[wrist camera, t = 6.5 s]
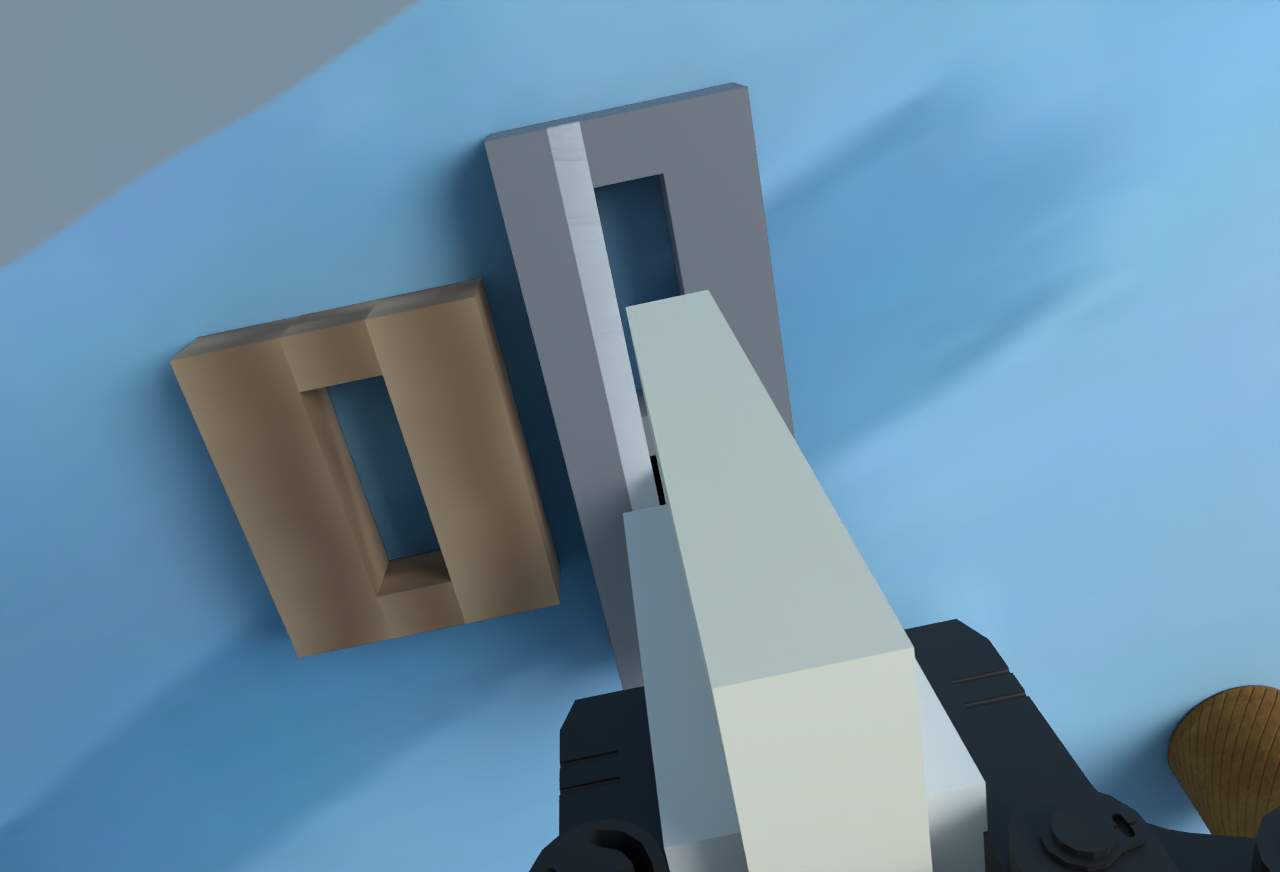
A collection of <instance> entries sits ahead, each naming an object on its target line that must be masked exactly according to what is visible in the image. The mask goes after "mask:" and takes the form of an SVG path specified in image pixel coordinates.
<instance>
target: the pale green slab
mask: <svg viewBox="0 0 1280 872" xmlns="http://www.w3.org/2000/svg"><path fill="white" fill-rule="evenodd" d="M625 308H626V312H627V317H628V322H629V327H630V332H631V337H632V341H633V346H634V351H635V356H636V361H637V366H638V371H639V375H640V380H641V385H642V390H643V395H644V400H645V404H646V409H647V414H648V419H649V424H650V429H651V434H652V438H653V443H654V448H655V453H656V458H657V463H658V467H659V472H660V477H661V482H662V487H663V492H664V496H665V501H666V504H668V509H669V513H670V518H671V522H672V527H673V532H674V536H675V541H676V545H677V550H678V554H679V559H680V563H681V568H682V572H683V577H684V581H685V586H686V590H687V595H688V599H689V604H690V608H691V613H692V617H693V622H694V627H695V631H696V636H697V640H698V645H699V649H700V654H701V658H702V663H703V667H704V672H705V676H706V681H707V685H708V690H709V694H710V699H711V703H712V708H713V713H714V717H715V722H716V726H717V731H718V735H719V740H720V744H721V749H722V753H723V758H724V762H725V767H726V771H727V776H728V780H729V785H730V789H731V794H732V798H733V803H734V808H735V812H736V817H737V821H738V826H739V830H740V835H741V840H742V845H743V850H744V855H745V860H746V865H747V869H748V872H933V870H932V858H931V846H930V834H929V822H928V810H927V798H926V786H925V774H924V762H923V750H922V738H921V726H920V714H919V702H918V690H917V678H916V665H915V653H914V646H913V645H912V643H911V641H910V639H909V638H908V636H907V634H906V632H905V631H904V629H903V627H902V626H901V624H900V622H899V620H898V619H897V617H896V615H895V613H894V612H893V610H892V608H891V606H890V605H889V603H888V601H887V599H886V598H885V596H884V594H883V593H882V591H881V589H880V587H879V586H878V584H877V582H876V580H875V579H874V577H873V575H872V573H871V572H870V570H869V568H868V566H867V565H866V563H865V561H864V559H863V558H862V556H861V554H860V553H859V551H858V549H857V547H856V546H855V544H854V542H853V540H852V539H851V537H850V535H849V533H848V532H847V530H846V528H845V526H844V525H843V523H842V521H841V520H840V518H839V516H838V514H837V513H836V511H835V509H834V507H833V506H832V504H831V502H830V500H829V499H828V497H827V495H826V493H825V492H824V490H823V488H822V486H821V485H820V483H819V481H818V480H817V478H816V476H815V474H814V473H813V471H812V469H811V467H810V466H809V464H808V462H807V460H806V459H805V457H804V455H803V453H802V452H801V450H800V448H799V447H798V445H797V443H796V441H795V440H794V438H793V436H792V434H791V433H790V431H789V429H788V427H787V426H786V424H785V422H784V420H783V419H782V417H781V415H780V413H779V412H778V410H777V408H776V407H775V405H774V403H773V401H772V400H771V398H770V396H769V394H768V393H767V391H766V389H765V387H764V386H763V384H762V382H761V380H760V379H759V377H758V375H757V374H756V372H755V370H754V368H753V367H752V365H751V363H750V361H749V360H748V358H747V356H746V354H745V353H744V351H743V349H742V347H741V346H740V344H739V342H738V340H737V339H736V337H735V335H734V334H733V332H732V330H731V328H730V327H729V325H728V323H727V321H726V320H725V318H724V316H723V314H722V313H721V311H720V309H719V307H718V306H717V304H716V302H715V301H714V299H713V297H712V295H711V294H710V292H709V290H704V291H700V292H695V293H690V294H685V295H681V296H676V297H671V298H666V299H662V300H657V301H652V302H647V303H643V304H638V305H633V306H628V307H625Z"/></svg>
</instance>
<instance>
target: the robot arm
mask: <svg viewBox="0 0 1280 872" xmlns="http://www.w3.org/2000/svg"><path fill="white" fill-rule="evenodd" d="M623 519H624V527H625V535H626V543H627V551H628V560H629V568H630V576H631V584H632V592H633V600H634V608H635V616H636V624H637V633H638V641H639V649H640V657H641V665H642V673H643V681H644V686H641V687H636V688H631V689H627V690H622V691H617V692H612V693H607V694H602V695H598V696H593V697H588V698H583V699H578V700H575V702H574V704H573V706H572V708H571V710H570V712H569V714H568V716H567V718H566V720H565V722H564V724H563V726H562V727H561V729H560V766H561V768H560V795H559V836H558V837H557V838H556V839H554V840H553V841H552V842H551V843H550V844H549V845H547V846H546V847H545V848H544V849H543V850H542V851H541V853H540V854H539V856H538V858H537V859H536V861H535V863H534V864H533V866H532V868H531V869H530V871H529V872H748V869H747V865H746V860H745V855H744V850H743V845H742V840H741V835H740V830H739V826H738V821H737V817H736V812H735V808H734V803H733V798H732V794H731V789H730V785H729V780H728V776H727V771H726V767H725V762H724V758H723V753H722V749H721V744H720V740H719V735H718V731H717V726H716V722H715V717H714V713H713V708H712V703H711V699H710V694H709V690H708V685H707V681H706V676H705V672H704V667H703V663H702V658H701V654H700V649H699V645H698V640H697V636H696V631H695V627H694V622H693V617H692V613H691V608H690V604H689V599H688V595H687V590H686V586H685V581H684V577H683V572H682V568H681V563H680V559H679V554H678V550H677V545H676V541H675V536H674V532H673V527H672V522H671V518H670V513H669V509H668V504H665V505H660V506H655V507H651V508H646V509H641V510H636V511H631V512H627V513H623ZM904 631H905V632H906V634H907V636H908V638H909V639H910V641H911V643H912V645H913V646H914V653H915V665H916V678H917V690H918V702H919V714H920V726H921V738H922V750H923V762H924V774H925V786H926V798H927V810H928V822H929V834H930V846H931V858H932V870H933V872H1280V806H1279V807H1277V808H1276V809H1274V810H1273V811H1271V812H1270V813H1268V814H1267V815H1265V816H1264V817H1262V820H1261V823H1260V825H1259V828H1258V831H1257V834H1256V837H1255V838H1250V837H1236V836H1223V835H1210V834H1197V833H1187V832H1181V831H1175V830H1168V829H1164V828H1161V827H1158V826H1155V825H1152V824H1149V823H1146V822H1145V821H1144V820H1143V818H1142V817H1141V816H1140V815H1139V814H1138V813H1137V812H1136V811H1135V810H1134V809H1132V808H1130V807H1128V806H1127V805H1125V804H1123V803H1122V802H1120V801H1118V800H1117V799H1115V798H1113V797H1112V796H1110V795H1107V794H1103V793H1100V792H1098V791H1097V790H1096V789H1095V788H1094V787H1093V786H1092V784H1091V783H1090V782H1089V781H1088V779H1087V778H1086V776H1085V775H1084V774H1083V772H1082V771H1081V769H1080V768H1079V767H1078V765H1077V764H1076V762H1075V761H1074V759H1073V758H1072V757H1071V755H1070V754H1069V752H1068V751H1067V750H1066V748H1065V747H1064V745H1063V744H1062V742H1061V741H1060V740H1059V738H1058V737H1057V735H1056V734H1055V733H1054V731H1053V730H1052V728H1051V727H1050V725H1049V724H1048V723H1047V721H1046V720H1045V718H1044V717H1043V716H1042V714H1041V713H1040V711H1039V710H1038V708H1037V707H1036V706H1035V704H1034V703H1033V701H1032V700H1031V699H1030V697H1029V696H1026V694H1025V690H1024V689H1023V687H1022V686H1021V684H1020V683H1019V682H1018V680H1017V679H1016V677H1015V676H1014V675H1013V673H1010V672H1009V668H1008V666H1007V665H1006V663H1005V662H1004V660H1003V659H1002V658H1001V656H1000V655H999V653H998V652H997V650H996V649H995V648H994V646H993V645H992V643H991V642H990V641H989V639H987V638H986V637H984V636H982V635H981V634H979V633H978V632H976V631H975V630H973V629H971V628H970V627H968V626H967V625H965V624H964V623H962V622H961V621H959V620H957V619H954V620H949V621H944V622H939V623H934V624H929V625H925V626H920V627H915V628H910V629H905V630H904Z"/></svg>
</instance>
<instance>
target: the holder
mask: <svg viewBox="0 0 1280 872" xmlns="http://www.w3.org/2000/svg"><path fill="white" fill-rule="evenodd" d="M169 362H170V364H171V367H172V369H173V371H174V374H175V376H176V378H177V380H178V383H179V385H180V387H181V390H182V392H183V394H184V396H185V399H186V401H187V403H188V406H189V408H190V410H191V413H192V415H193V417H194V419H195V422H196V424H197V426H198V429H199V431H200V433H201V435H202V438H203V440H204V442H205V445H206V447H207V449H208V452H209V454H210V456H211V458H212V461H213V463H214V465H215V468H216V470H217V472H218V474H219V477H220V479H221V481H222V484H223V486H224V488H225V490H226V493H227V495H228V497H229V500H230V502H231V504H232V507H233V509H234V511H235V513H236V516H237V518H238V520H239V523H240V525H241V527H242V529H243V532H244V534H245V536H246V539H247V541H248V543H249V546H250V548H251V550H252V552H253V555H254V557H255V559H256V562H257V564H258V566H259V568H260V571H261V573H262V575H263V578H264V580H265V582H266V584H267V587H268V589H269V591H270V594H271V596H272V598H273V601H274V603H275V605H276V607H277V610H278V612H279V614H280V617H281V619H282V621H283V623H284V626H285V628H286V630H287V633H288V635H289V637H290V640H291V642H292V644H293V646H294V649H295V651H296V653H297V656H298V658H301V657H306V656H311V655H316V654H321V653H326V652H331V651H335V650H340V649H345V648H350V647H355V646H360V645H365V644H369V643H374V642H379V641H384V640H389V639H394V638H399V637H404V636H408V635H413V634H418V633H423V632H428V631H433V630H438V629H443V628H447V627H452V626H457V625H462V624H467V623H472V622H477V621H481V620H486V619H491V618H496V617H501V616H506V615H511V614H516V613H520V612H525V611H530V610H535V609H540V608H545V607H550V606H554V605H559V604H560V565H559V561H558V557H557V554H556V550H555V546H554V543H553V539H552V535H551V532H550V528H549V524H548V521H547V517H546V513H545V509H544V506H543V502H542V498H541V495H540V491H539V487H538V484H537V480H536V476H535V473H534V469H533V465H532V462H531V458H530V454H529V451H528V447H527V443H526V439H525V436H524V432H523V428H522V425H521V421H520V417H519V414H518V410H517V406H516V403H515V399H514V395H513V392H512V388H511V384H510V381H509V377H508V373H507V370H506V366H505V362H504V358H503V355H502V351H501V347H500V344H499V340H498V336H497V333H496V329H495V325H494V322H493V318H492V314H491V311H490V307H489V303H488V300H487V296H486V292H485V288H484V285H483V281H482V278H478V279H474V280H469V281H464V282H459V283H455V284H450V285H445V286H440V287H436V288H431V289H426V290H421V291H416V292H412V293H407V294H402V295H397V296H393V297H388V298H383V299H378V300H374V301H369V302H364V303H359V304H354V305H350V306H345V307H340V308H335V309H331V310H326V311H321V312H316V313H312V314H307V315H302V316H297V317H292V318H288V319H283V320H278V321H273V322H269V323H264V324H259V325H254V326H250V327H245V328H240V329H235V330H231V331H226V332H221V333H216V334H211V335H207V336H202V337H198V338H197V339H196V340H194V341H193V342H192V343H191V344H189V345H188V346H187V347H186V348H184V349H183V350H182V351H181V352H180V353H178V354H177V355H176V356H175V357H173V358H172V359H171V360H170V361H169ZM380 375H383V377H384V380H385V383H386V386H387V389H388V392H389V395H390V398H391V401H392V404H393V407H394V410H395V413H396V416H397V419H398V422H399V425H400V428H401V431H402V434H403V437H404V440H405V443H406V446H407V449H408V452H409V455H410V458H411V461H412V464H413V467H414V470H415V473H416V476H417V479H418V482H419V485H420V488H421V491H422V494H423V497H424V500H425V503H426V506H427V509H428V512H429V515H430V518H431V521H432V524H433V527H434V530H435V533H436V536H437V539H438V542H439V545H440V548H441V550H439V551H434V552H430V553H425V554H420V555H415V556H410V557H405V558H400V559H396V560H391V561H389V559H388V556H387V554H386V551H385V548H384V545H383V543H382V540H381V537H380V534H379V532H378V529H377V526H376V523H375V521H374V518H373V515H372V512H371V510H370V507H369V504H368V501H367V499H366V496H365V493H364V490H363V488H362V485H361V482H360V479H359V477H358V474H357V471H356V468H355V466H354V463H353V460H352V457H351V455H350V452H349V449H348V446H347V444H346V441H345V438H344V435H343V433H342V430H341V427H340V424H339V422H338V419H337V416H336V413H335V411H334V408H333V405H332V402H331V400H330V397H329V394H328V391H327V389H326V387H327V386H332V385H337V384H342V383H347V382H351V381H356V380H361V379H366V378H370V377H375V376H380Z"/></svg>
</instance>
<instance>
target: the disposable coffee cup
mask: <svg viewBox="0 0 1280 872" xmlns="http://www.w3.org/2000/svg"><path fill="white" fill-rule="evenodd" d="M1168 761H1169V765H1170V768H1171V770H1172V772H1173V774H1174V775H1175V776H1176V778H1177V780H1178V781H1179V783H1180V784H1181V786H1182V788H1183V789H1184V791H1185V792H1186V794H1187V796H1188V797H1189V799H1190V800H1191V802H1192V804H1193V805H1194V807H1195V809H1196V810H1197V811H1198V813H1199V815H1200V816H1201V818H1202V820H1203V821H1204V823H1205V824H1206V826H1207V828H1208V829H1209V831H1210V833H1211V834H1212V835H1223V836H1236V837H1250V838H1255V837H1256V834H1257V831H1258V828H1259V825H1260V823H1261V820H1262V817H1264V816H1265V815H1267V814H1268V813H1270V812H1271V811H1273V810H1274V809H1276V808H1277V807H1279V806H1280V690H1278V689H1276V688H1273V687H1267V686H1245V687H1240V688H1234V689H1231V690H1228V691H1225V692H1222V693H1220V694H1218V695H1216V696H1214V697H1212V698H1210V699H1208V700H1206V701H1205V702H1203V703H1202V704H1200V705H1199V706H1197V707H1196V708H1195V709H1194V710H1193V711H1191V712H1190V713H1189V714H1188V715H1187V716H1186V717H1185V718H1184V720H1183V721H1182V722H1181V723H1180V724H1179V726H1178V727H1177V729H1176V731H1175V732H1174V734H1173V736H1172V739H1171V741H1170V744H1169V749H1168Z"/></svg>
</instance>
